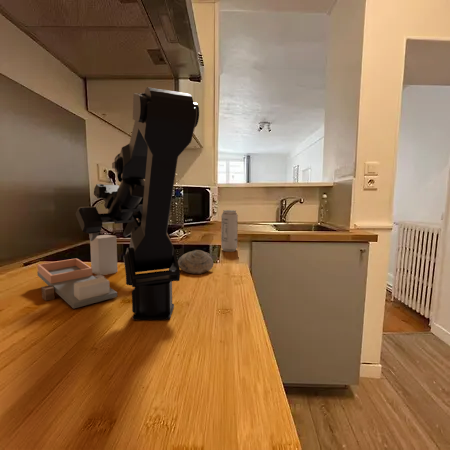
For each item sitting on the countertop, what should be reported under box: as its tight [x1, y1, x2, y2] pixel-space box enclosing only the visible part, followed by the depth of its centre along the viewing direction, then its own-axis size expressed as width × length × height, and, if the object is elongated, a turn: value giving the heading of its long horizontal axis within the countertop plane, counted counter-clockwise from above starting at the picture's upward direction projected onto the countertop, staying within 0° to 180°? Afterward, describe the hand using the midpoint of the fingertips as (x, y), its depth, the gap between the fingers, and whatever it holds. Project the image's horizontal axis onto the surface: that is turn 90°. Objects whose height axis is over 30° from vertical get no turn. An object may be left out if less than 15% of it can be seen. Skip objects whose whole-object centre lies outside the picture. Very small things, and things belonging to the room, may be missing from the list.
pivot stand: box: [41, 275, 106, 302], centre depth 67 cm, size 2×13×2 cm, turn 137°
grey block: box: [89, 234, 118, 276], centre depth 83 cm, size 5×5×10 cm
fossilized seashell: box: [177, 249, 214, 275], centre depth 87 cm, size 11×11×7 cm
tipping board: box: [36, 257, 118, 309], centre depth 67 cm, size 21×9×4 cm, turn 47°
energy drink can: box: [220, 209, 239, 253], centre depth 114 cm, size 6×6×15 cm
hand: (108, 237), depth 81 cm, fingers open, 9 cm apart
